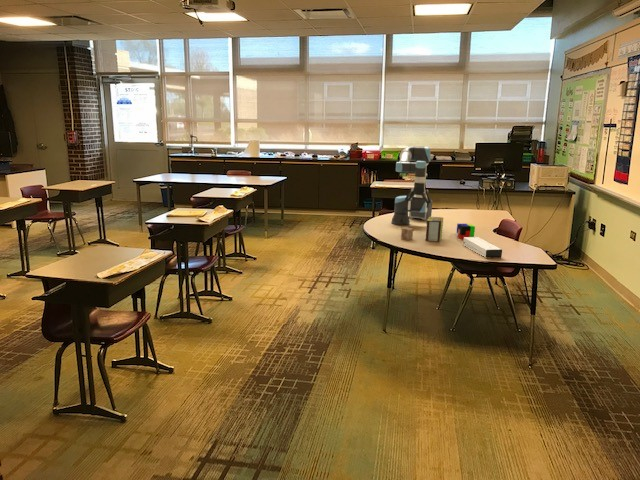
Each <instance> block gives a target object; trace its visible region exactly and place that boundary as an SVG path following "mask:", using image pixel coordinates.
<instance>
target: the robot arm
mask: <svg viewBox="0 0 640 480" xmlns="http://www.w3.org/2000/svg"><path fill="white" fill-rule="evenodd" d="M431 155H432V154H431V148H430V146H429V147H428V146H418V145H417V146H416V145H415V146H413V145H411V146H407V147H405V148H403V149H402V150H401V151H400V152H399V161H396V163H395V172H398V173H410V174H411V173H412V174H414V183H413V187H409V191H408V193H407V194H406V195H399V196H396V197H395V199H394V211H393V212H394V213H393V216H392V219H391V224H392V225H396V226H398V225H399V226H408V225H410V222H411V221H410V219H409V217H408V216H409V212H419V213H420V212H427V209H428V208H429V203H431V202H432V203H433V200H432V198H431V195H430V194H429V189H426V179H427V166H428V165H429V163H430V162H431V160H432V157H431ZM411 161H414V162H411ZM412 192H413V193H412ZM431 200H432V201H431Z"/></svg>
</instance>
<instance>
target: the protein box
mask: <svg viewBox="0 0 640 480" xmlns="http://www.w3.org/2000/svg"><path fill="white" fill-rule="evenodd" d="M443 227H444V217H441V216H439V217H438V216H431V217H429V218H428V220H427V221H426V227H425V228H426V232H425V241H426V242H437V243H440V242H441V240H442V237H443V230H444V229H443Z"/></svg>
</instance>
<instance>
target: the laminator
mask: <svg viewBox="0 0 640 480" xmlns="http://www.w3.org/2000/svg"><path fill="white" fill-rule="evenodd" d="M462 241H463V242H462V245H463V246H464V247H465V246H466V248H467V249H469V250H470V249H471V251H472V250H473V251H472V252H474V251H475V252H476V254H477V253H478V254H477V255H479V254H480V255H479V256H481V255H482V256H484V257H501V258H502V255H503V249H502V248H499V247H498V246H496V245H494V244H492V243H490V242H488V241H486V240H485V239H483V238H480V237H479V236H474V237H464V239H462ZM475 252H474V253H475ZM482 256H481V257H482ZM484 257H483V258H484Z"/></svg>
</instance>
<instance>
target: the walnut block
mask: <svg viewBox="0 0 640 480" xmlns="http://www.w3.org/2000/svg"><path fill="white" fill-rule="evenodd" d="M413 233H414V228H412V227H407V226H406V227H402V228H401V234H400V239H401V240H406V241H409V240H413V235H414V234H413Z"/></svg>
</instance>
